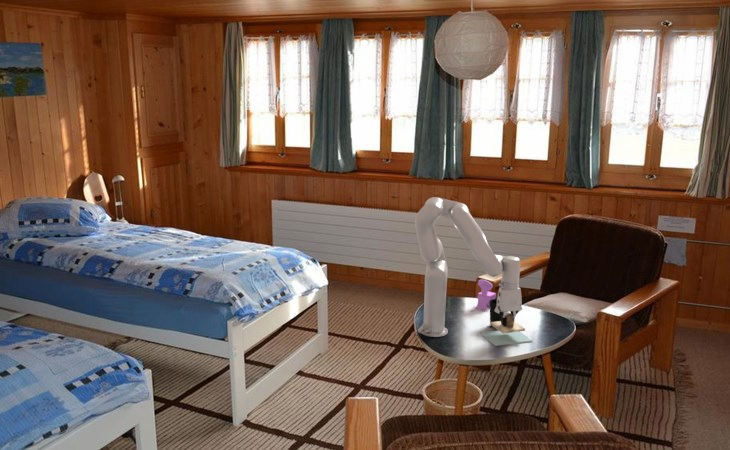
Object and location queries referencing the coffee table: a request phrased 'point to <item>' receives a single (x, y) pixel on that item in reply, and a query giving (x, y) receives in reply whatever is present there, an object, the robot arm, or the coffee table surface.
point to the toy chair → (485, 294)
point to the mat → (505, 337)
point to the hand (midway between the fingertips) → (507, 324)
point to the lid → (508, 325)
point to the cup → (493, 314)
